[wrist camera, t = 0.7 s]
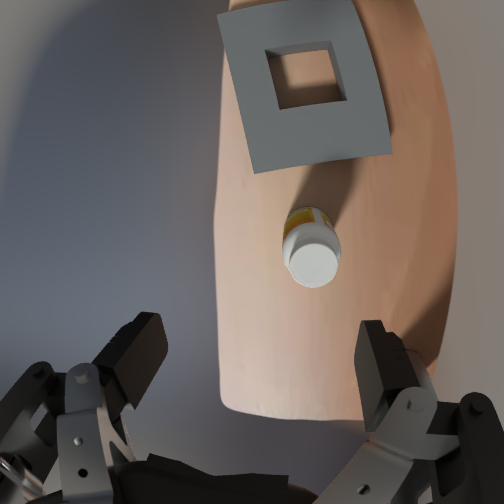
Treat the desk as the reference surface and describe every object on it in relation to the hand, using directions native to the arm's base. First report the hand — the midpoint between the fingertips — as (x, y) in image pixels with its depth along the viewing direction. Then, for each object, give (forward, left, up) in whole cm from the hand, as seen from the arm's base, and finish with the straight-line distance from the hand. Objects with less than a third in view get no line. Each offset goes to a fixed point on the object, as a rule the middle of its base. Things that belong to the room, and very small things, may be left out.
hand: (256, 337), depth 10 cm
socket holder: (+10, -10, -22) cm, 26 cm away
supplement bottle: (-4, -1, -22) cm, 22 cm away
